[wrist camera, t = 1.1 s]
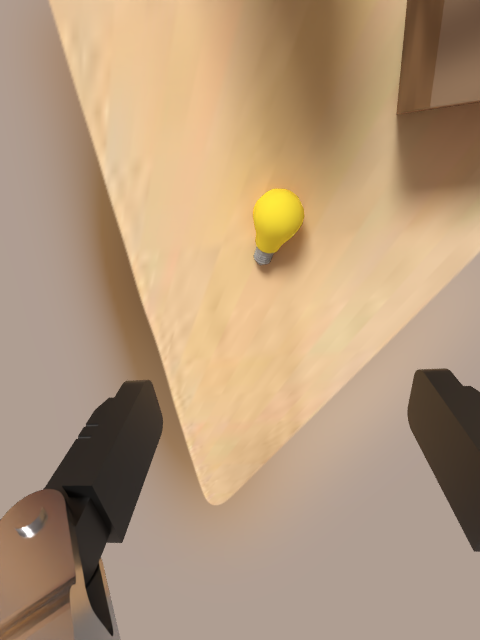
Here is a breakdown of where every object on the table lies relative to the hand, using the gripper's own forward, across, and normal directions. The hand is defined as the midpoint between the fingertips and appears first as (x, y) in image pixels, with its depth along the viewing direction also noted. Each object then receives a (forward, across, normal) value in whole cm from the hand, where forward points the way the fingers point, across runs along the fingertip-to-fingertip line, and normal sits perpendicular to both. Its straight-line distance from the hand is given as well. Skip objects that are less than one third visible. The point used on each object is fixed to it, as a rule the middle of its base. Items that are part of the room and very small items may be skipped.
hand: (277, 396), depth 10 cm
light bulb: (+17, 0, -2) cm, 17 cm away
